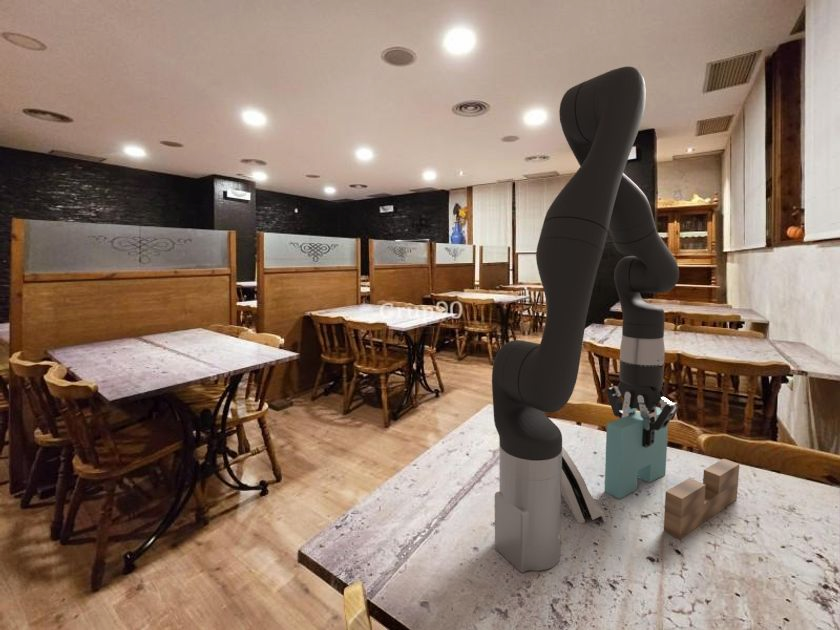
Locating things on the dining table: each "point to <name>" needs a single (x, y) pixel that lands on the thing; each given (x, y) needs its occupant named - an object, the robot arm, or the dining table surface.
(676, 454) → the dining table surface
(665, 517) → the notched wooden block
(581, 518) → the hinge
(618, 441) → the teal plate
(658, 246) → the robot arm
